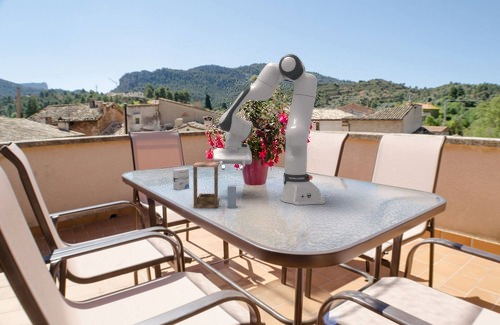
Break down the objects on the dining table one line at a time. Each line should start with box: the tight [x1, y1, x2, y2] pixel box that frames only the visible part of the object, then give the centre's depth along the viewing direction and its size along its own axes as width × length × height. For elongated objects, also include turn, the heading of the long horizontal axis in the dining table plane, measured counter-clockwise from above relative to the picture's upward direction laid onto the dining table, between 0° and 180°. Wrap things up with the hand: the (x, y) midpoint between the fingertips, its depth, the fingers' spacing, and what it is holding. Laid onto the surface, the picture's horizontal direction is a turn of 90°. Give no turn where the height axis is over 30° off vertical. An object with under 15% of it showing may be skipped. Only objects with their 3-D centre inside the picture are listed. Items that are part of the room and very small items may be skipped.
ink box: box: [172, 167, 190, 191], centre depth 177 cm, size 8×5×12 cm, turn 144°
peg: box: [226, 184, 237, 209], centre depth 140 cm, size 4×4×10 cm
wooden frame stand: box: [192, 161, 221, 209], centre depth 143 cm, size 11×14×20 cm
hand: (232, 169), depth 151 cm, fingers open, 8 cm apart
